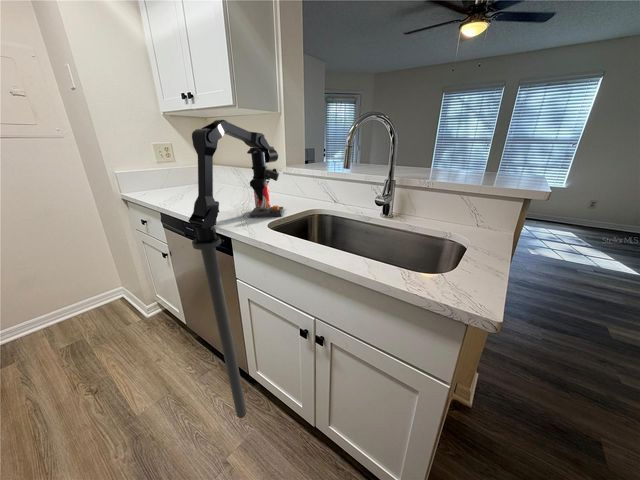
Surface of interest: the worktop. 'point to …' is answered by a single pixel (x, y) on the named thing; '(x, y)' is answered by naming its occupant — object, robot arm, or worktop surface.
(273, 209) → the tare button
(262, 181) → the robot arm
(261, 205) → the soda can
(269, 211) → the scale
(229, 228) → the worktop surface
